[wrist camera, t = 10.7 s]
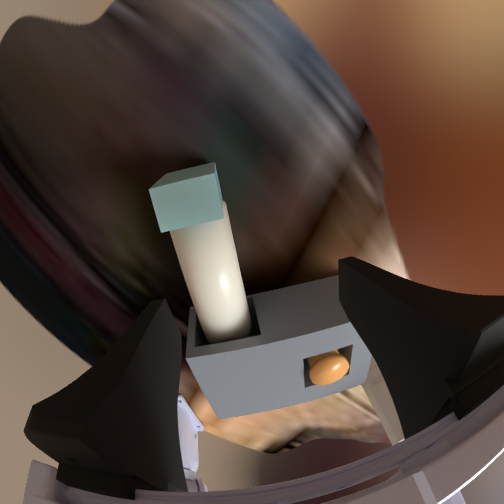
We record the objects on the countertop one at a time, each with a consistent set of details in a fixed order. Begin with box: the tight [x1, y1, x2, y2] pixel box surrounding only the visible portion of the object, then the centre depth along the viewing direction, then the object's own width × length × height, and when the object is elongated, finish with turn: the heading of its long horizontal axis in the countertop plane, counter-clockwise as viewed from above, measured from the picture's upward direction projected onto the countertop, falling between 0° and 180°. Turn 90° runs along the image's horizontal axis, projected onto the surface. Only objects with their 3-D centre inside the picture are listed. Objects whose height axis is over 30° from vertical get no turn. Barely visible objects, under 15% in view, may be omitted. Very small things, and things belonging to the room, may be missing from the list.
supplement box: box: [361, 356, 405, 445], centre depth 24 cm, size 7×7×13 cm
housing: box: [186, 275, 372, 419], centre depth 22 cm, size 9×14×6 cm, turn 99°
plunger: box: [307, 349, 349, 385], centre depth 21 cm, size 3×3×4 cm
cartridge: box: [149, 162, 252, 344], centre depth 18 cm, size 12×4×5 cm, turn 9°
